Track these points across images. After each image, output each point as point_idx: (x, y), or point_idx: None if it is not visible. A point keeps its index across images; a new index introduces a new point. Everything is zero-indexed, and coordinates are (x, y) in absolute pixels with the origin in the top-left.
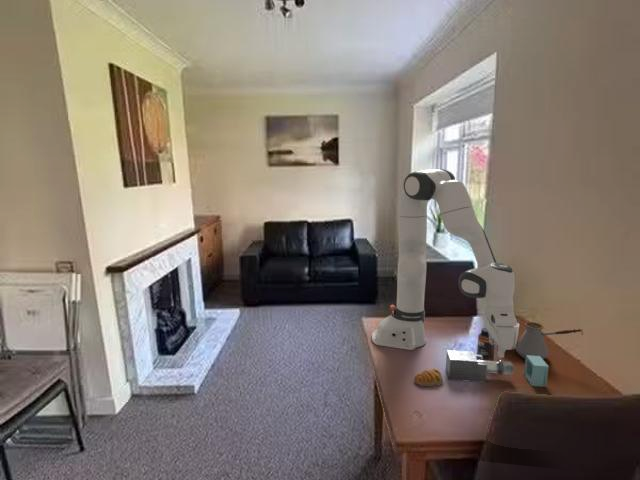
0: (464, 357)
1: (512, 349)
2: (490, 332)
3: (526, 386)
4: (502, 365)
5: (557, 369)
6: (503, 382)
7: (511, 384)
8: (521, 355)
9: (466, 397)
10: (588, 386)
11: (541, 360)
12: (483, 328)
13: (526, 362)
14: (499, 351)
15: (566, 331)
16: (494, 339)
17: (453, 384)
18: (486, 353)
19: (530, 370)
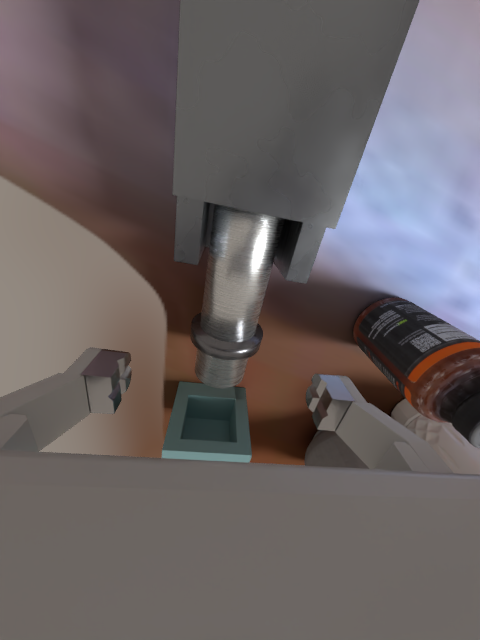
0: (246, 78)
1: (391, 416)
2: (306, 514)
3: (174, 366)
4: (197, 343)
5: (265, 458)
6: (195, 310)
7: (183, 330)
8: None
9: (9, 37)
10: None
11: None
12: None
13: (239, 429)
14: (38, 387)
15: None
16: (38, 483)
17: (152, 4)
18: (374, 331)
19: (232, 414)
